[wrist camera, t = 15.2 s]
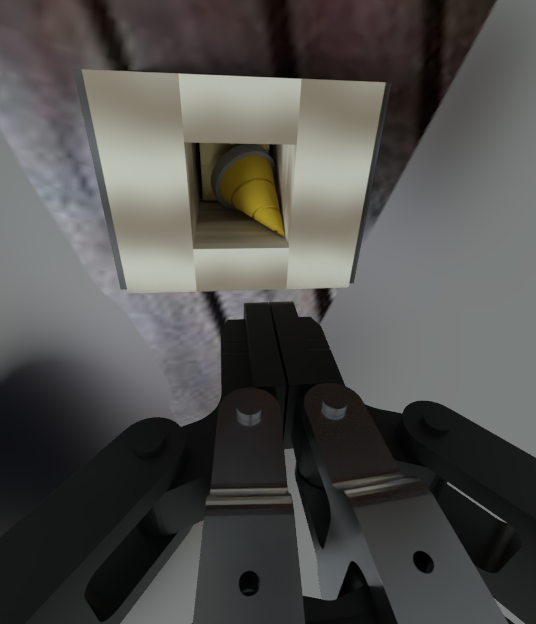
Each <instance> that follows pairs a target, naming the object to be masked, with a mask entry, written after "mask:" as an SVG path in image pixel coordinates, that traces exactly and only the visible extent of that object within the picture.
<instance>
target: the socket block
mask: <svg viewBox="0 0 536 624" xmlns="http://www.w3.org/2000/svg"><path fill="white" fill-rule="evenodd" d="M73 71H74V76H75V81H76V85H77V90H78V94H79V99H80V104H81V108H82V113H83V117H84V122H85V127H86V131H87V136H88V140H89V145H90V150H91V154H92V159H93V163H94V168H95V173H96V177H97V182H98V186H99V191H100V196H101V200H102V205H103V209H104V214H105V219H106V223H107V228H108V232H109V237H110V242H111V246H112V251H113V255H114V260H115V265H116V269H117V274H118V278H119V283H120V288H121V289H127V292H128V293H158V292H195V291H232V290H268V289H305V288H342V287H349V283H354V279H355V274H356V268H357V263H358V258H359V253H360V247H361V242H362V237H363V231H364V226H365V221H366V216H367V210H368V205H369V200H370V194H371V189H372V184H373V179H374V173H375V168H376V163H377V157H378V152H379V147H380V142H381V136H382V131H383V126H384V121H385V115H386V110H387V105H388V99H389V94H390V89H391V84H392V83H388V82H365V81H343V80H321V79H297V78H273V77H250V76H226V75H203V74H179V73H156V72H132V71H107V70H82V69H73ZM196 143H238V144H272V159H273V160H274V163H275V166H276V176H275V180H274V182H275V188H276V193H277V198H278V203H279V208H280V213H281V218H282V223H283V228H284V233H285V236H284V237H283V236H282V235H280V234H278V233H277V230H275V231H273V230H272V229H270V228H268V227H267V226H265V225H263V224H262V223H260V222H258V221H257V220H255V219H253V218H252V217H250V216H248V215H247V214H245V213H243V212H242V211H240V210H238V209H232V208H228V207H225V206H224V205H222V204H221V203H220V202H219V201H200V196H199V181H198V166H197V152H196Z"/></svg>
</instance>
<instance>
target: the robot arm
mask: <svg viewBox="0 0 536 624" xmlns="http://www.w3.org/2000/svg"><path fill="white" fill-rule="evenodd" d="M221 384H222V394H221V399H220V402H219V404H218V406H217V407H216V409H215V410H214V411H213V412H212V413H211V414H209V415H208V416H207V417H205V418H203V419H201V420H199V421H197V422H194V423H191V424H188V425H185V426H183V427H180V426H179V425H178V424H177V423H176V422H174V421H172V420H170V419H166V418H160V417H156V418H155V417H154V418H148V419H144V420H141V421H139V422H136V423H135V424H133V425H131V426H130V427H128V428H127V429H126V430H125V431H123V432H122V433H121V434H120V435H119V436H118V437H116V438H115V439H114V440H113V441H112V442H111V443H109V444H108V445H107V446H106V447H105V448H104V449H102V450H101V451H100V452H99V453H98V454H97V455H95V456H94V457H93V458H92V459H91V460H90V461H88V462H87V463H86V464H85V465H84V466H83V467H81V468H80V469H79V470H78V471H77V472H76V473H74V474H73V475H72V476H71V477H70V478H69V479H67V480H66V481H65V482H64V483H63V484H62V485H60V486H59V487H58V488H57V489H56V490H55V491H53V492H52V493H51V494H50V495H49V496H48V497H46V498H45V499H44V500H43V501H42V502H41V503H40V504H38V505H37V506H36V507H35V508H34V509H33V510H31V511H30V512H29V513H28V514H27V515H25V516H24V517H23V518H22V519H21V520H20V521H18V522H17V523H16V524H15V525H14V526H13V527H11V528H10V529H9V530H8V531H7V532H6V533H4V534H3V535H2V536H1V537H0V624H120V623H121V622H122V620H123V619H124V618H125V616H126V615H127V614H128V612H129V611H130V610H131V608H132V607H133V606H134V604H135V603H136V602H137V601H138V599H139V597H140V596H141V595H142V594H143V593H144V591H145V590H146V589H147V587H148V586H149V585H150V583H151V582H152V581H153V579H154V578H155V577H156V575H157V574H158V572H159V571H160V570H161V569H162V567H163V566H164V565H165V563H166V562H167V561H168V559H169V558H170V557H171V555H172V554H173V553H174V552H175V550H176V549H177V548H178V546H179V545H180V544H181V542H182V541H183V540H184V538H185V537H186V536H187V534H188V533H189V531H190V530H191V528H192V526H193V525H194V524H196V523H198V522H200V521H202V520H204V522H203V531H202V541H201V550H200V560H199V570H198V580H197V589H196V599H195V609H194V618H193V623H192V624H514V623H513V622H511V621H510V620H509V619H507V618H506V617H505V616H504V615H503V614H502V612H501V610H500V608H499V607H498V605H497V603H496V602H495V600H494V598H495V599H496V600H497V601H498V602H500V603H501V604H502V605H503V606H504V607H506V608H507V609H508V610H509V611H510V612H512V613H513V614H514V615H515V616H517V617H518V618H519V619H520V620H521V621H523V622H524V623H525V624H536V458H535V457H533V456H531V455H530V454H528V453H526V452H525V451H523V450H521V449H519V448H517V447H516V446H514V445H512V444H510V443H509V442H507V441H505V440H503V439H502V438H500V437H498V436H497V435H494V434H493V433H491V432H490V431H488V430H486V429H484V428H482V427H481V426H479V425H477V424H476V423H474V422H472V421H470V420H469V419H467V418H465V417H463V416H462V415H460V414H458V413H456V412H455V411H453V410H451V409H449V408H447V407H445V406H443V405H441V404H438V403H435V402H431V401H416V402H413V403H410V404H409V405H408V406H406V408H405V409H404V411H403V414H401V413H396V412H391V411H386V410H381V409H377V408H373V407H370V406H367V405H365V404H364V403H363V401H362V399H361V398H360V397H359V395H358V394H356V393H355V392H354V391H353V390H351V389H350V388H348V387H346V386H345V384H344V381H343V379H342V377H341V374H340V372H339V369H338V367H337V364H336V362H335V360H334V357H333V354H332V352H331V350H330V348H329V345H328V342H327V340H326V337H325V335H324V332H323V330H322V328H321V326H320V325H319V324H318V323H317V322H316V321H314V320H313V319H312V318H311V317H298V314H297V311H296V308H295V305H294V303H293V301H291V302H269V304H268V302H262V303H244V319H239V320H227V322H226V323H225V325H224V326H223V328H222V329H221ZM291 448H294V453H295V457H296V465H295V479H296V483H297V486H298V490H299V494H300V498H301V501H302V505H303V508H304V512H305V516H306V520H307V523H308V526H309V530H310V534H311V538H312V542H313V545H314V549H315V553H316V558H317V565H318V578H319V585H320V592H321V597H322V599H317V598H312V597H307V596H302V587H301V577H300V567H299V557H298V547H297V537H296V528H295V517H294V508H293V501H292V496H291V494H290V493H289V492H288V487H287V478H286V466H285V455H284V449H291ZM447 482H449V483H450V484H452V485H453V486H455V487H456V488H458V489H459V490H461V491H462V492H463V493H465V494H466V495H468V496H469V497H471V498H472V499H474V500H475V501H477V502H478V503H479V504H481V505H482V506H484V507H485V508H487V509H488V510H489V511H491V512H492V513H494V514H495V515H497V516H498V517H500V518H501V519H503V520H504V521H505V522H507V523H505V522H502V521H500V520H498V519H497V518H495V517H494V516H492V515H491V514H489V513H488V512H486V511H485V510H483V509H482V508H481V507H479V506H478V505H476V504H475V503H473V502H472V501H471V500H469V499H468V498H466V497H465V496H463V495H462V494H461V493H459V492H458V491H456V490H455V489H453V488H452V487H451V486H449V485H448V484H447Z"/></svg>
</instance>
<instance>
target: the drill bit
mask: <svg viewBox="0 0 536 624" xmlns="http://www.w3.org/2000/svg"><path fill="white" fill-rule="evenodd" d="M275 176H276V166H275V163H274V160H273V159H272V158H271V156H270V155H269V154H268V152H267V151H266V150H265V149H264V148H262V147H261V146H259V145H256V144H241V145H239V146H236V147H234V148H232V149H231V150H229V151H228V152H226V153H225V154H224V155H223V156H222V157H221V158H220V159H219V161H218V162H217V163H216V165H215V167H214V169H213V171H212V175H211V188H212V190H213V192H214V194H215V196H216V197H217V199H218V200H219V202H220V203H221V204H222V205H224V206H225V207H228V208H232V209H238V210H240V211H242V212H243V213H245V214H247V215H248V216H250V217H252V218H253V219H255V220H257V221H258V222H260V223H262V224H263V225H265V226H267V227H268V228H270V229H272V230H273V231H275V230H277V233H278V234H280V235H282V236H283V237H284V236H285V233H284V228H283V223H282V218H281V213H280V208H279V203H278V198H277V193H276V188H275V182H274V180H275Z"/></svg>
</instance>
